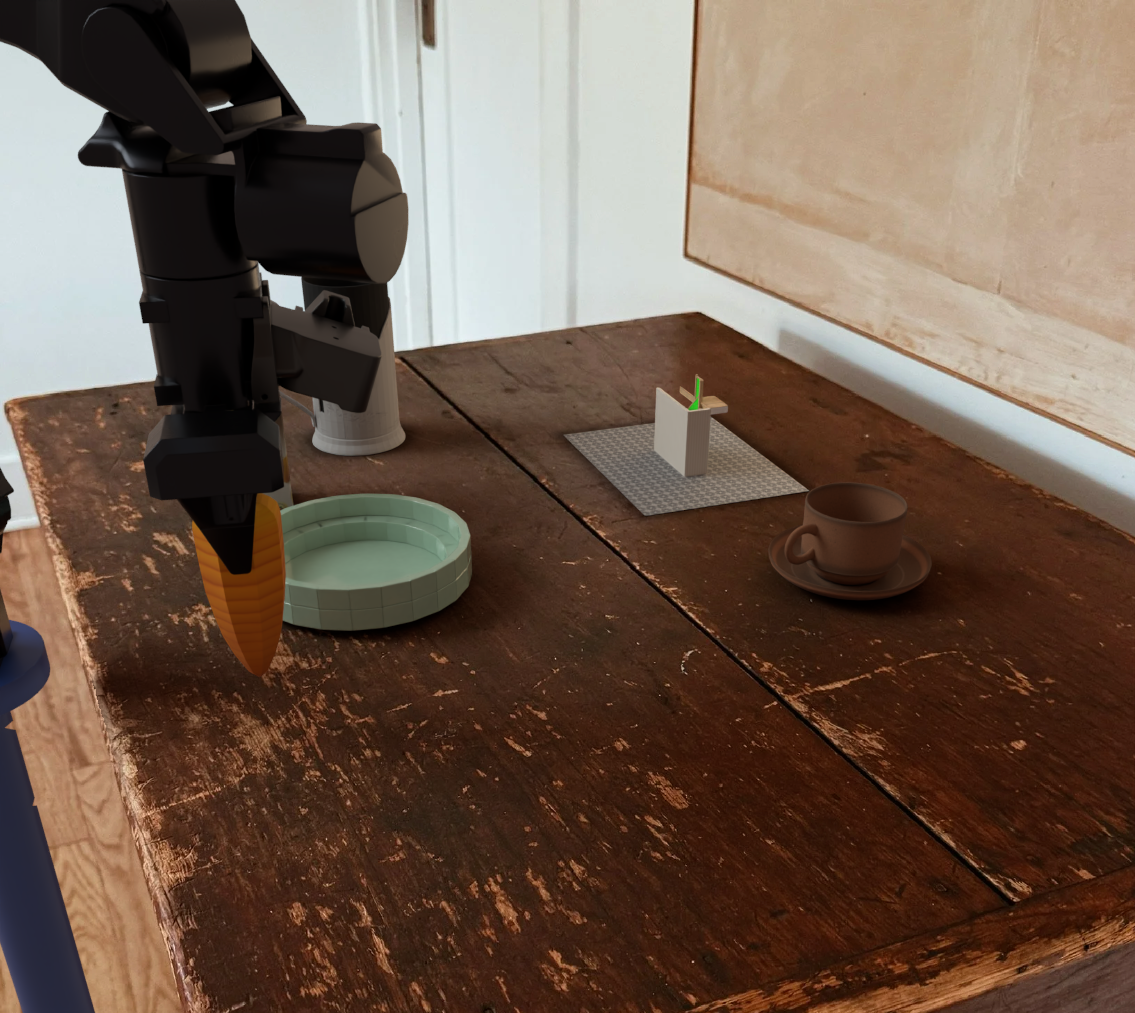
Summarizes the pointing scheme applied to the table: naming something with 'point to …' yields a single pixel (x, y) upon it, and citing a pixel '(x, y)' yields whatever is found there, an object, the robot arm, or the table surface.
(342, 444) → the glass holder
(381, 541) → the bowl
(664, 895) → the table surface
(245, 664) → the carrot
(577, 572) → the table surface
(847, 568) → the cup and saucer
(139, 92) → the robot arm
